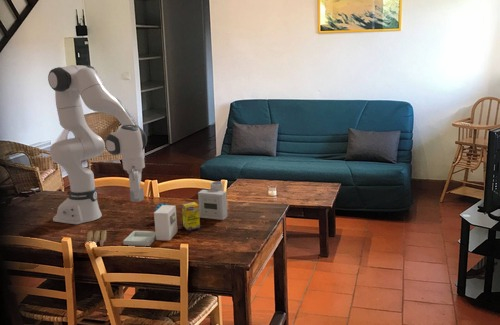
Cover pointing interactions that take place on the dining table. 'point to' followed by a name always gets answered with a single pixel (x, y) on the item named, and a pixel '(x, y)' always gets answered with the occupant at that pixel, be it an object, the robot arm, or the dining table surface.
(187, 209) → the supplement box
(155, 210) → the gear
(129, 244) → the tray
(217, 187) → the thermostat
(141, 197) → the relay block
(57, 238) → the dining table surface
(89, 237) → the ammunition
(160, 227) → the box
